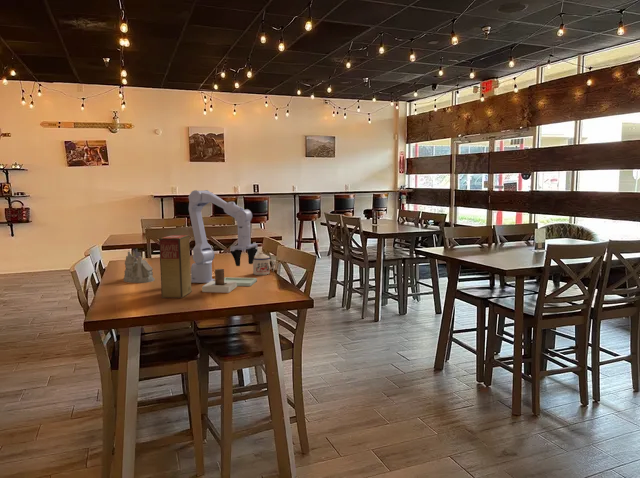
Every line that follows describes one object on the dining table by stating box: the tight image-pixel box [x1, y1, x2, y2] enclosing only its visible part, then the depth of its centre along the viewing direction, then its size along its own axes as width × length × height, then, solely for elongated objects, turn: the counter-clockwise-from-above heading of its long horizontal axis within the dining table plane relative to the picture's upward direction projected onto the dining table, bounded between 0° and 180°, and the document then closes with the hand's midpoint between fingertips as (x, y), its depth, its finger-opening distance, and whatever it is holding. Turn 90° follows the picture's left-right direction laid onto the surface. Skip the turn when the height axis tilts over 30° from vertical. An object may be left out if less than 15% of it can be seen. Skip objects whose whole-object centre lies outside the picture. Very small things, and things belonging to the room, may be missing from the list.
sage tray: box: [224, 276, 258, 287], centre depth 225 cm, size 16×12×2 cm
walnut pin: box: [214, 268, 225, 285], centre depth 211 cm, size 4×4×9 cm
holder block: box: [201, 280, 238, 294], centre depth 212 cm, size 12×12×2 cm
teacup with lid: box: [252, 251, 276, 276], centre depth 249 cm, size 12×9×12 cm
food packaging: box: [158, 234, 192, 299], centre depth 200 cm, size 13×9×25 cm
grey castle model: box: [123, 251, 156, 284], centre depth 233 cm, size 16×16×15 cm
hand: (244, 264), depth 219 cm, fingers open, 7 cm apart
